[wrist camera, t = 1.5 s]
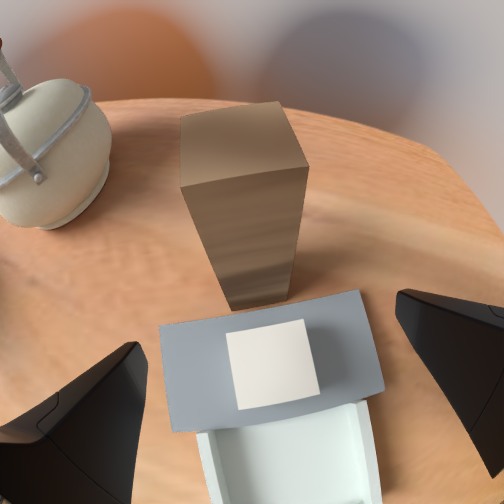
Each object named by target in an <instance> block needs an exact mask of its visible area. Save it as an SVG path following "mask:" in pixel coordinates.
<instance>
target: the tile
mask: <svg viewBox="0 0 504 504" xmlns="http://www.w3.org/2000/svg"><path fill="white" fill-rule="evenodd" d="M226 339H227V345H228V352H229V358H230V364H231V370H232V376H233V382H234V387H235V393H236V399H237V404H238V410H243V409H250V408H256V407H262V406H268V405H273V404H279V403H284V402H288V401H293V400H298V399H302V398H306V397H310V396H315V395H318V394H320V391H319V386H318V381H317V377H316V372H315V367H314V363H313V358H312V354H311V350H310V345H309V341H308V336H307V332H306V328H305V324H304V319H300V320H295V321H291V322H286V323H281V324H276V325H271V326H265V327H260V328H254V329H249V330H243V331H237V332H231V333H226Z"/></svg>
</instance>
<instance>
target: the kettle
mask: <svg viewBox="0 0 504 504" xmlns="http://www.w3.org/2000/svg"><path fill="white" fill-rule="evenodd" d="M1 46H2V40H1V38H0V71H1V72H2V73H3V74H4V76H5V77H6V79H7V80H8V81H9V83H10V85H8V86H4V87H3V88H2V89H1V90H0V215H1V216H2V217H3V218H4V219H5V220H6V221H8V222H9V223H11V224H13V225H15V226H18V227H24V228H31V227H37V228H39V229H43V230H50V229H55V228H58V227H60V226H63V225H65V224H66V223H68V222H70V221H71V220H73V219H74V218H76V217H77V216H78V215H79V214H81V213H82V212H83V211H84V210H85V209H86V208H87V207H88V206H89V205H90V204H91V203H92V201H93V200H94V199H95V198H96V196H97V195H98V194H99V192H100V191H101V189H102V187H103V185H104V183H105V181H106V179H107V176H108V173H109V168H110V161H109V154H110V150H111V144H112V133H111V128H110V125H109V122H108V120H107V118H106V116H105V115H104V113H103V112H102V110H101V109H100V108H99V107H98V106H97V105H96V104H95V103H94V102H93V101H92V100H91V97H92V92H91V90H90V88H89V87H87V86H84V85H78V84H76V83H75V82H73V81H71V80H67V79H54V80H49V81H46V82H43V83H40V84H38V85H36V86H34V87H32V88H30V89H29V90H27V91H25V92H24V90H23V87H22V85H21V84H20V82H19V80H18V78H17V76H16V75H15V73H14V71H13V70H12V68H11V67H10V65H9V64H8V62H7V61H6V60H5V57H4V55H3V54H2V51H1Z"/></svg>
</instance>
